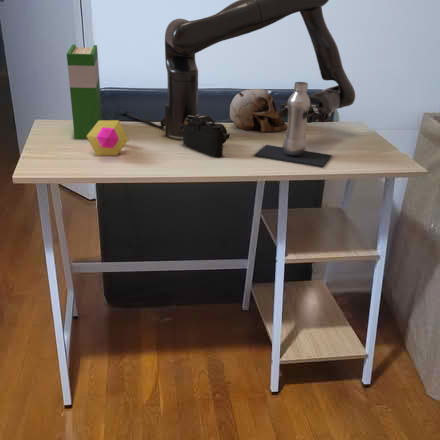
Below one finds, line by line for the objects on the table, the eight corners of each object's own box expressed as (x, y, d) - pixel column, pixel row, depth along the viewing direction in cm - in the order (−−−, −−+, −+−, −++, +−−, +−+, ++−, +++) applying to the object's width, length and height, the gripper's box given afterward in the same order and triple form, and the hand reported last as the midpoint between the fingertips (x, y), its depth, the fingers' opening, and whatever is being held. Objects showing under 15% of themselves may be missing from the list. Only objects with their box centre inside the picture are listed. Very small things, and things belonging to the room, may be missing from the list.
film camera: (243, 148, 168) (245, 115, 163) (223, 159, 158) (225, 124, 153) (192, 138, 175) (193, 105, 170) (170, 147, 165) (170, 113, 160)
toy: (131, 147, 167) (114, 114, 164) (133, 147, 150) (115, 110, 147) (100, 162, 167) (83, 129, 163) (100, 164, 150) (81, 127, 146)
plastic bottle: (309, 155, 164) (318, 83, 153) (294, 159, 159) (302, 86, 149) (292, 149, 167) (300, 79, 157) (277, 153, 163) (284, 82, 153)
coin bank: (291, 127, 189) (292, 87, 182) (257, 142, 180) (256, 99, 172) (258, 119, 199) (257, 80, 191) (223, 132, 190) (221, 92, 182)
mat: (254, 156, 162) (254, 154, 162) (266, 146, 171) (266, 144, 171) (322, 167, 156) (322, 165, 156) (330, 156, 165) (330, 154, 165)
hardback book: (79, 123, 184) (72, 44, 171) (102, 123, 185) (96, 45, 172) (74, 139, 169) (66, 53, 156) (99, 139, 170) (93, 54, 157)
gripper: (297, 89, 169) (273, 98, 157) (342, 96, 163) (320, 106, 151) (295, 114, 173) (270, 125, 161) (338, 122, 167) (316, 134, 155)
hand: (294, 116), depth 156 cm, fingers open, 8 cm apart
